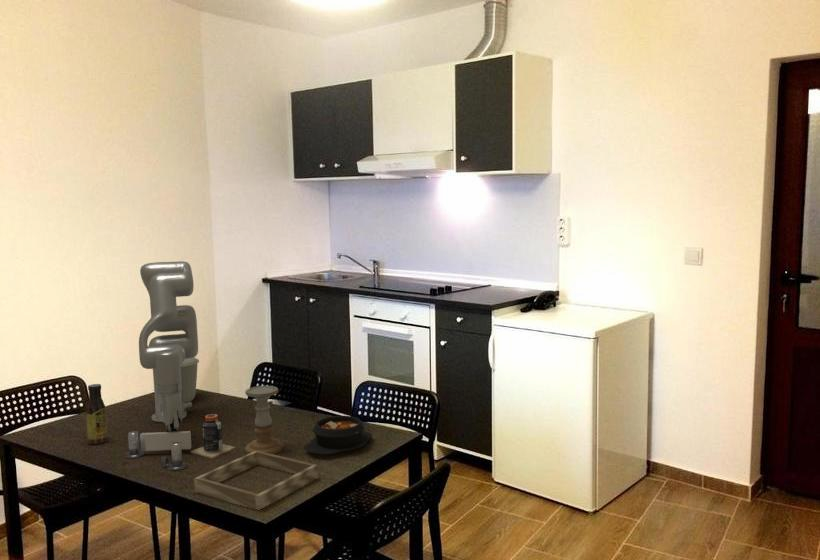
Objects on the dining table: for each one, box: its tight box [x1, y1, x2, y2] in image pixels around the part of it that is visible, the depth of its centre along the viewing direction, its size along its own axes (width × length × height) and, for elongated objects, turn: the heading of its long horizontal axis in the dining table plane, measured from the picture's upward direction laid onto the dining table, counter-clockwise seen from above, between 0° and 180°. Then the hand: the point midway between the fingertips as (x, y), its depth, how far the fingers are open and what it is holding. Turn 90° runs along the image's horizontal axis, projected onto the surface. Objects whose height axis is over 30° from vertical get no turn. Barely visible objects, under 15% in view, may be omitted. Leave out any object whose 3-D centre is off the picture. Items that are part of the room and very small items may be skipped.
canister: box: [180, 356, 200, 403], centre depth 279 cm, size 18×18×21 cm
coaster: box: [190, 443, 237, 460], centre depth 224 cm, size 10×10×1 cm
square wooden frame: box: [193, 451, 319, 511], centre depth 196 cm, size 24×24×4 cm
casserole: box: [303, 415, 373, 456], centre depth 225 cm, size 25×19×8 cm
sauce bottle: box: [85, 383, 108, 445], centre depth 233 cm, size 6×6×20 cm
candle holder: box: [244, 385, 284, 455], centre depth 223 cm, size 12×12×20 cm
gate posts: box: [124, 430, 188, 472], centre depth 216 cm, size 26×6×8 cm, turn 59°
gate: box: [139, 430, 192, 452], centre depth 222 cm, size 16×2×6 cm, turn 95°
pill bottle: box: [202, 413, 223, 452], centre depth 223 cm, size 6×6×11 cm
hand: (172, 441), depth 225 cm, fingers closed
